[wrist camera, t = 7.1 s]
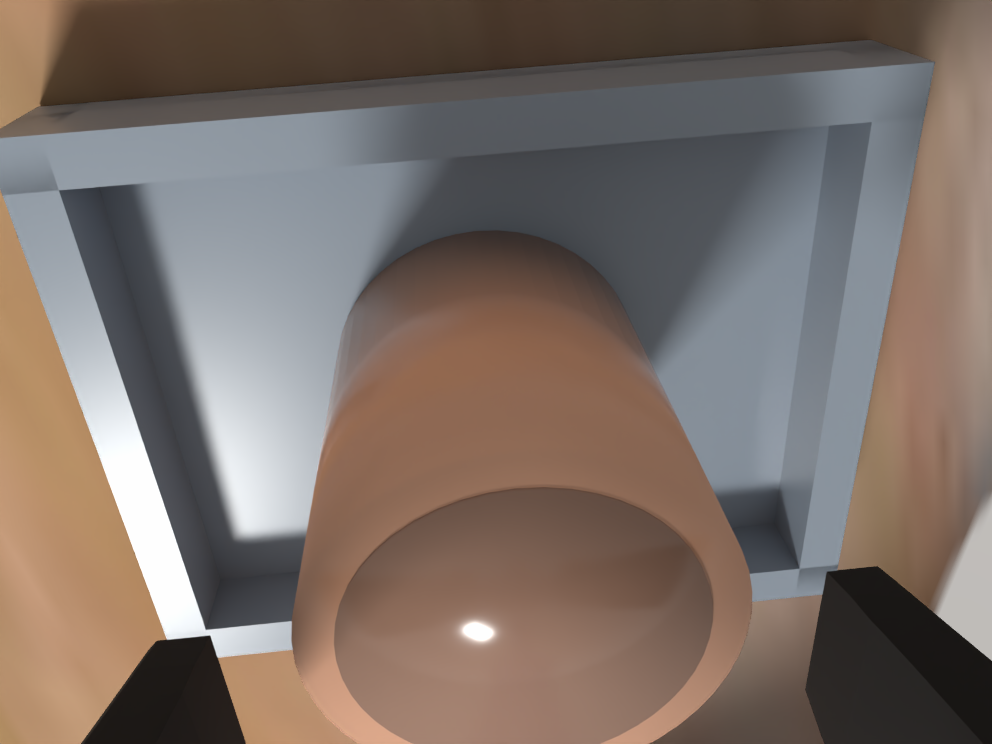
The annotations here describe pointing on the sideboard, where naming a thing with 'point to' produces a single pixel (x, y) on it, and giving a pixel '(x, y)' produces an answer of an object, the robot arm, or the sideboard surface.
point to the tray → (453, 210)
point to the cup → (509, 515)
